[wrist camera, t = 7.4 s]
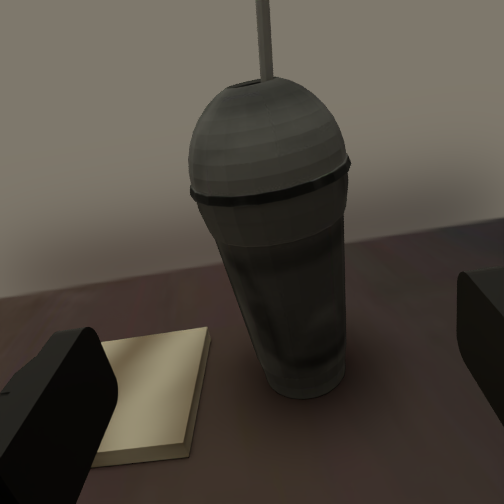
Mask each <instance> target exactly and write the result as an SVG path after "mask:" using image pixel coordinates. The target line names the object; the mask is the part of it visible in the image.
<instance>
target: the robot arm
mask: <svg viewBox="0 0 504 504" xmlns="http://www.w3.org/2000/svg"><path fill="white" fill-rule="evenodd" d="M457 341H458V346H459V350H460V353H461V356H462V358H463V360H464V362H465V364H466V366H467V367H468V369H469V371H470V372H471V374H472V376H473V377H474V379H475V381H476V382H477V384H478V385H479V387H480V389H481V390H482V392H483V394H484V395H485V397H486V398H487V400H488V402H489V403H490V405H491V407H492V408H493V410H494V412H495V413H496V415H497V416H498V418H499V420H500V421H501V423H502V425H503V426H504V268H503V267H500V266H498V267H491V268H484V269H478V270H471V271H464V272H461V273H460V274H459V276H458V280H457ZM117 401H118V383H117V379H116V376H115V374H114V372H113V369H112V367H111V365H110V362H109V360H108V358H107V356H106V353H105V351H104V349H103V346H102V344H101V342H100V340H99V337H98V335H97V333H96V332H95V330H94V329H92V328H91V327H84V328H77V329H71V330H64V331H58V332H55V333H54V334H53V335H52V336H51V337H50V339H49V340H48V341H47V343H46V344H45V345H44V347H43V348H42V350H41V351H40V352H39V354H38V355H37V356H36V357H34V358H33V359H32V360H31V361H30V362H28V363H27V364H26V365H25V366H24V367H22V368H21V369H20V370H19V371H18V372H16V373H15V374H14V375H13V377H12V378H11V379H10V381H9V382H8V383H7V385H6V386H5V387H4V389H3V390H2V391H1V393H0V504H76V502H77V500H78V497H79V495H80V492H81V490H82V488H83V485H84V483H85V480H86V478H87V475H88V473H89V471H90V468H91V466H92V463H93V461H94V459H95V456H96V454H97V451H98V449H99V447H100V444H101V442H102V439H103V437H104V434H105V432H106V430H107V427H108V425H109V422H110V420H111V418H112V415H113V413H114V410H115V408H116V405H117Z"/></svg>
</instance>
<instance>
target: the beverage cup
mask: <svg viewBox="0 0 504 504" xmlns="http://www.w3.org/2000/svg"><path fill="white" fill-rule="evenodd" d="M256 14H257V28H258V29H257V30H258V45H259V60H260V76H261V79H257V80H252V81H247V82H243V83H239V84H236V85H233V86H229V87H227V88H225V89H224V90H223V91H222V92H220V93H219V94H218V95H217V96H216V97H215V98H214V99H213V100H212V101H211V102H210V103H209V104H208V106H207V107H206V108H205V110H204V112H203V113H202V115H201V117H200V118H199V120H198V122H197V124H196V127H195V129H194V131H193V135H192V139H191V143H190V148H189V158H188V162H189V175H190V180H191V185H190V195H191V197H192V198H193V199H194V201H195V202H197V205H198V208H199V211H200V213H201V215H202V217H203V219H204V221H205V223H206V225H207V227H208V229H209V231H210V233H211V234H212V236H213V237H214V239H215V241H216V244H217V246H218V249H219V252H220V255H221V257H222V260H223V263H224V266H225V269H226V271H227V274H228V277H229V280H230V283H231V285H232V288H233V291H234V294H235V296H236V299H237V302H238V305H239V308H240V310H241V313H242V316H243V319H244V321H245V324H246V327H247V330H248V333H249V335H250V338H251V341H252V344H253V346H254V349H255V352H256V355H257V358H258V360H259V362H260V363H261V365H262V367H263V370H264V372H265V374H266V379H267V381H268V383H269V385H270V386H271V388H272V389H274V390H275V391H276V392H277V393H279V394H281V395H284V396H286V397H289V398H296V399H308V398H314V397H318V396H321V395H323V394H326V393H328V392H330V391H331V390H332V389H334V388H335V387H336V386H337V385H338V384H339V383H340V381H341V380H342V378H343V377H344V373H345V349H346V305H345V257H344V210H345V207H346V201H347V190H348V173H347V172H348V171H349V168H350V165H351V162H350V159H349V156H348V155H347V153H346V150H345V144H344V140H343V137H342V134H341V131H340V128H339V127H338V125H337V123H336V121H335V119H334V117H333V115H332V114H331V113H330V111H329V110H328V109H327V107H326V106H325V105H324V104H323V103H322V102H321V101H320V100H319V99H318V98H317V97H316V96H315V95H314V94H313V93H312V92H310V91H309V90H307V89H306V88H304V87H303V86H301V85H299V84H297V83H295V82H293V81H290V80H287V79H283V78H279V77H273V63H272V44H271V26H270V8H269V0H256Z"/></svg>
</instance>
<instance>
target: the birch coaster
mask: <svg viewBox="0 0 504 504" xmlns="http://www.w3.org/2000/svg"><path fill="white" fill-rule="evenodd" d="M210 341H211V338H210V334H209V331H208V328H207V327H203V328H196V329H189V330H183V331H176V332H169V333H162V334H155V335H148V336H142V337H135V338H128V339H121V340H114V341H107V342H101V344H102V346H103V349H104V351H105V353H106V356H107V358H108V360H109V362H110V365H111V367H112V369H113V372H114V374H115V376H116V379H117V383H118V401H117V405H116V408H115V410H114V413H113V415H112V418H111V420H110V422H109V425H108V427H107V430H106V432H105V434H104V437H103V439H102V442H101V444H100V447H99V449H98V451H97V454H96V456H95V459H94V461H93V463H92V466H91V468H93V467H102V466H111V465H120V464H129V463H138V462H147V461H156V460H165V459H174V458H183V457H189V453H190V447H191V442H192V437H193V431H194V426H195V421H196V415H197V410H198V405H199V400H200V394H201V389H202V384H203V378H204V373H205V368H206V362H207V357H208V352H209V346H210Z"/></svg>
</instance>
